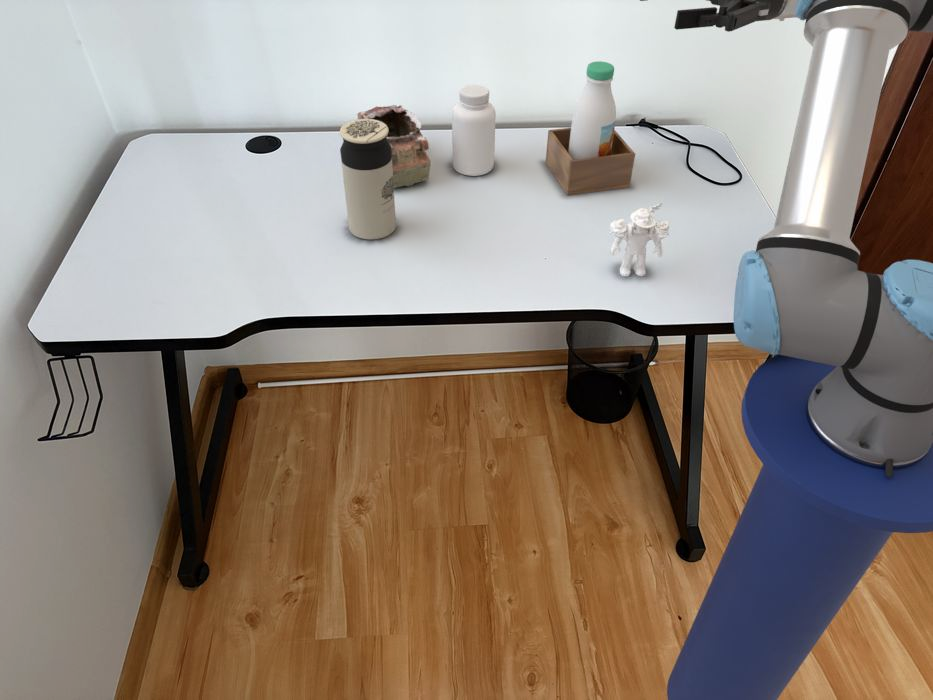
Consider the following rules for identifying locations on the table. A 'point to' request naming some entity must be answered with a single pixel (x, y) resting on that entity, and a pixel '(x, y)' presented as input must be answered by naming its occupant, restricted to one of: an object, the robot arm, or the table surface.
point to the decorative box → (403, 144)
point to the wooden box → (588, 165)
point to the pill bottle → (473, 131)
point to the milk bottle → (594, 115)
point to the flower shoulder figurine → (638, 238)
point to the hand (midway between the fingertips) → (658, 5)
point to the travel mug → (368, 178)
